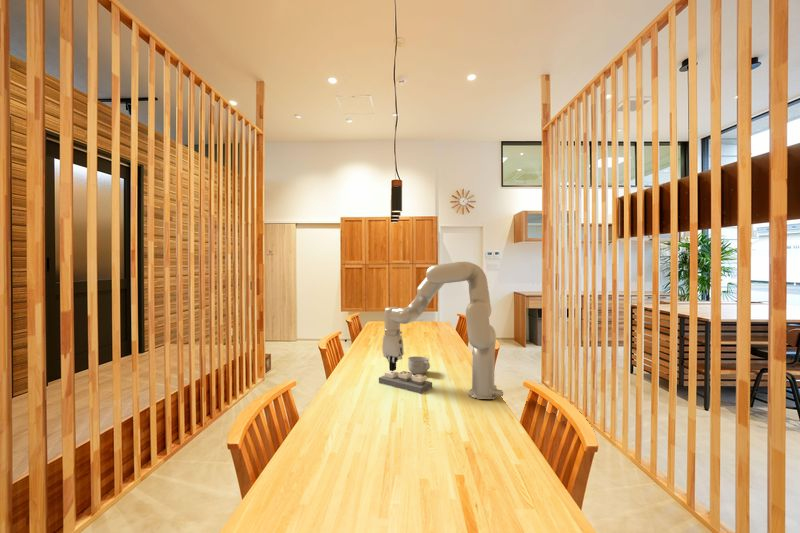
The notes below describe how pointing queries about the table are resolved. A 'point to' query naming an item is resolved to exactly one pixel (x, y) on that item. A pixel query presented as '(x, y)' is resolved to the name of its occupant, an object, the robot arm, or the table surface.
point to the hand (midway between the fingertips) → (392, 370)
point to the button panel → (405, 384)
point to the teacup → (418, 364)
